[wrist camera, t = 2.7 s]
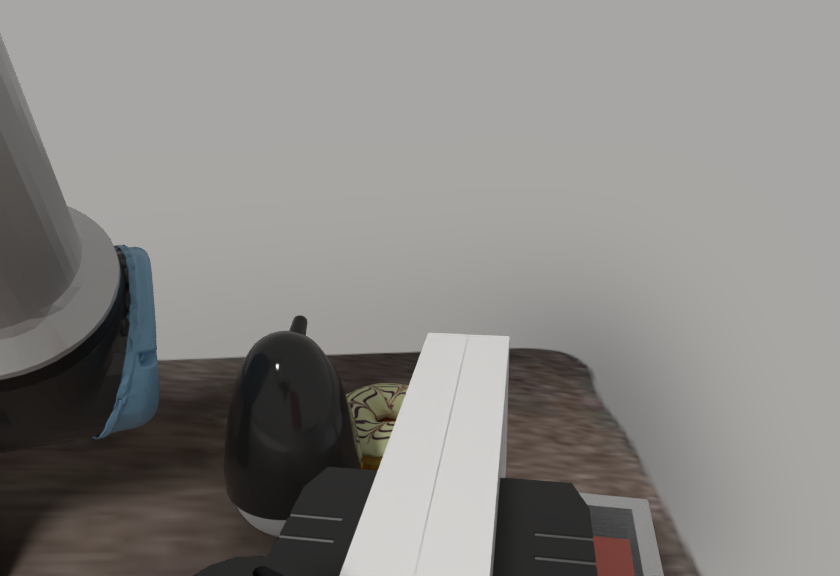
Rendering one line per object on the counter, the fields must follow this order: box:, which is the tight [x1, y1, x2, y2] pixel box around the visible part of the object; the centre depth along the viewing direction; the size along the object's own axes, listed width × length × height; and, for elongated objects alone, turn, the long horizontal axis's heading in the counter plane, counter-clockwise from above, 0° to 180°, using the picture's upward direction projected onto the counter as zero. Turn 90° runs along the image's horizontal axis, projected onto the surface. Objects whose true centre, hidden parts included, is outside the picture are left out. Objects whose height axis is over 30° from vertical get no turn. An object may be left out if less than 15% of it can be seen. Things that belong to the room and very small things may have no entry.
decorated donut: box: [346, 383, 409, 471], centre depth 60 cm, size 10×11×4 cm
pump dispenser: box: [224, 316, 364, 537], centre depth 49 cm, size 10×10×15 cm
